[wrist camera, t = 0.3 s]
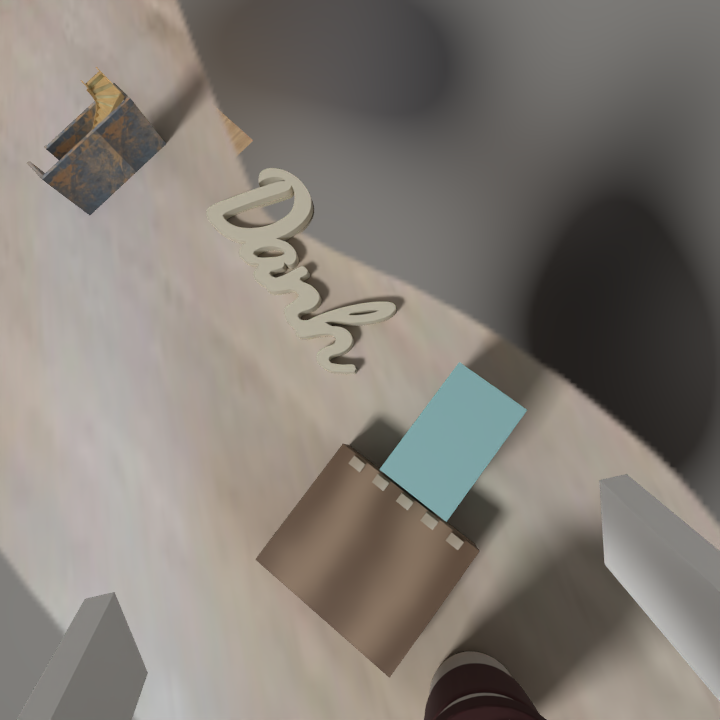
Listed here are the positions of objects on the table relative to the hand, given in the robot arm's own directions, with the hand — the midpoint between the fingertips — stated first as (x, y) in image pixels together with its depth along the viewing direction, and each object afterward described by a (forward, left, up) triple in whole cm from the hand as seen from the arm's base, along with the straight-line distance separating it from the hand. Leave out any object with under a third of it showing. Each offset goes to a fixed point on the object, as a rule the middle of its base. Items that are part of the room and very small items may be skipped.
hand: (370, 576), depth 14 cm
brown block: (-1, +6, -34) cm, 34 cm away
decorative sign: (+20, -11, -34) cm, 42 cm away
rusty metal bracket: (+44, -9, -34) cm, 57 cm away
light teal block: (-1, -6, -33) cm, 34 cm away
